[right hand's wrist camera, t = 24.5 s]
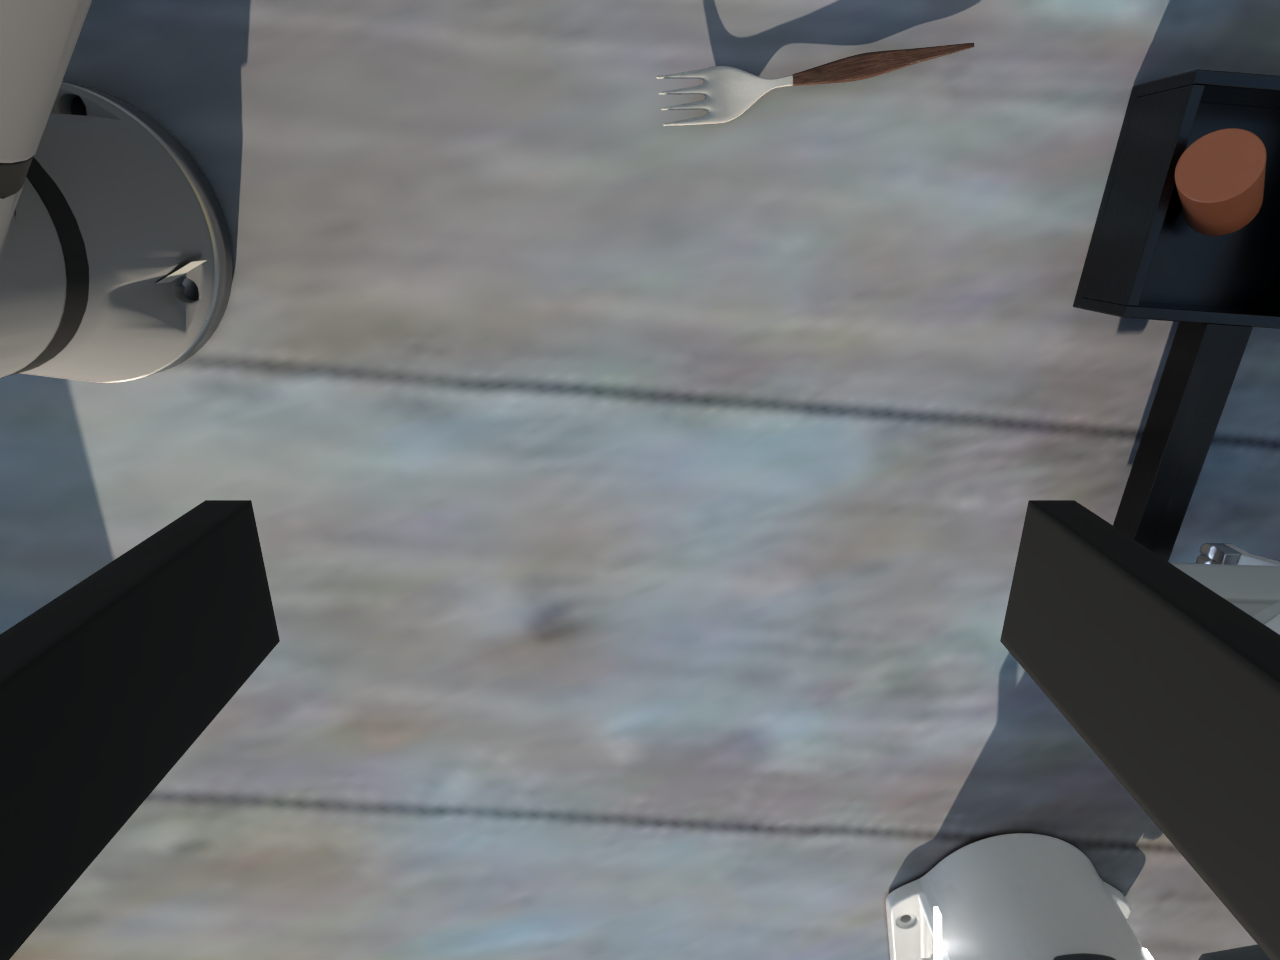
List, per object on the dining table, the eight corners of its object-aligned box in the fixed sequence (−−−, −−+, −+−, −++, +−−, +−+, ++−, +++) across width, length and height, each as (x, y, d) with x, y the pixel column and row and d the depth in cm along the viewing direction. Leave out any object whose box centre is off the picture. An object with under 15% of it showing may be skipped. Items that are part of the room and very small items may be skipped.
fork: (970, 76, 37) (987, 68, 35) (662, 134, 38) (664, 130, 36) (969, 18, 36) (987, 6, 34) (655, 79, 37) (655, 71, 35)
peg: (1181, 240, 39) (1171, 208, 33) (1187, 178, 38) (1177, 136, 33) (1259, 231, 36) (1262, 195, 31) (1266, 166, 36) (1270, 119, 31)
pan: (1132, 86, 37) (1197, 69, 33) (1343, 102, 37) (1435, 88, 33) (996, 585, 47) (1032, 622, 43) (1163, 595, 47) (1215, 633, 43)
